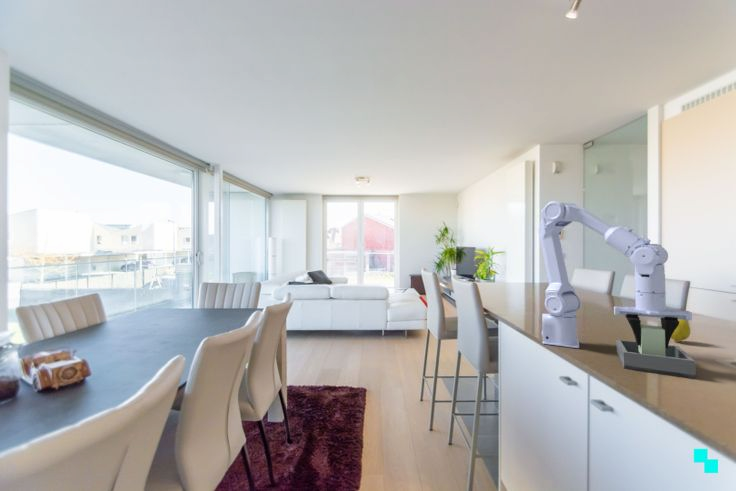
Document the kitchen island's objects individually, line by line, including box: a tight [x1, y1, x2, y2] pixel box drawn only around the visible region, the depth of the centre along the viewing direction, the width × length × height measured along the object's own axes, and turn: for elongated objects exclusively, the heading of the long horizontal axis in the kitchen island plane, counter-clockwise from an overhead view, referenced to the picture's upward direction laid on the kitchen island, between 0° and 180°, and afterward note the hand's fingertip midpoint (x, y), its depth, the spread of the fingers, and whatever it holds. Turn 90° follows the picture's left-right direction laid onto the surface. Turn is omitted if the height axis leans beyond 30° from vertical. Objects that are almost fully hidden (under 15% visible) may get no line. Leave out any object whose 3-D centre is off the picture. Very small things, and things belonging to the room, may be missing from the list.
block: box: [638, 324, 666, 357], centre depth 80 cm, size 4×4×7 cm
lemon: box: [670, 319, 691, 343], centre depth 98 cm, size 6×6×8 cm
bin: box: [615, 338, 697, 380], centre depth 80 cm, size 13×13×4 cm
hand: (651, 345), depth 80 cm, fingers closed on block, 4 cm apart
